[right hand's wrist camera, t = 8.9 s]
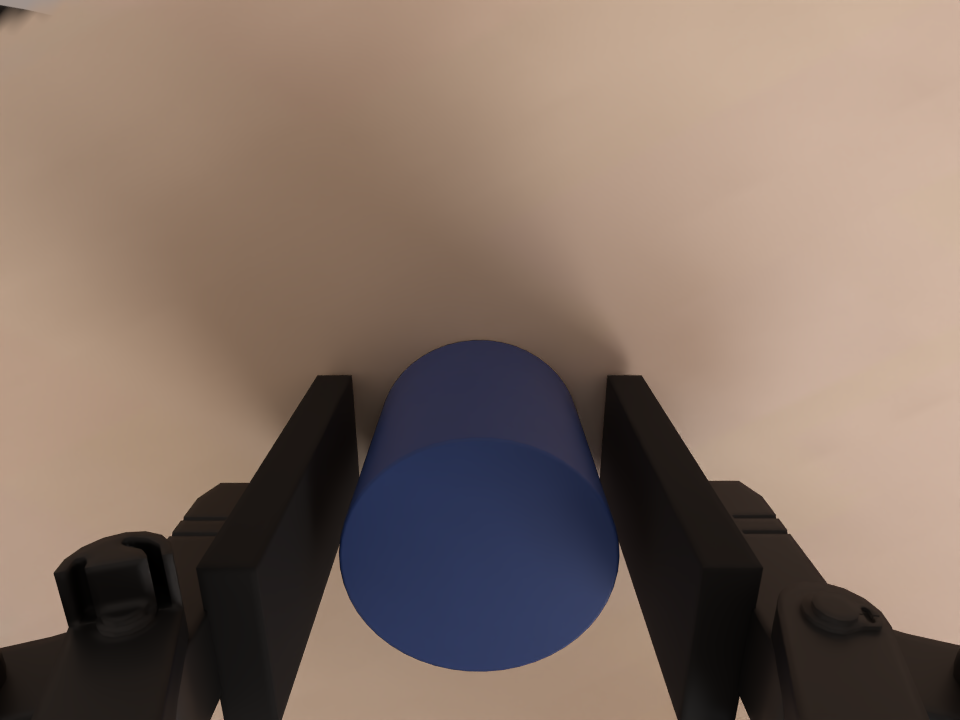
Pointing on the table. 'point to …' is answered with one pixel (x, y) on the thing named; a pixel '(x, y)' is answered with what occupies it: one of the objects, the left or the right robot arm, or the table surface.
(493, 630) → the cylinder
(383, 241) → the table surface
